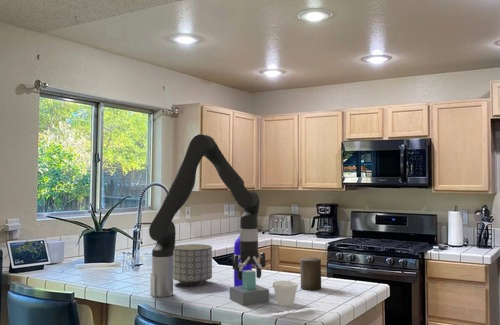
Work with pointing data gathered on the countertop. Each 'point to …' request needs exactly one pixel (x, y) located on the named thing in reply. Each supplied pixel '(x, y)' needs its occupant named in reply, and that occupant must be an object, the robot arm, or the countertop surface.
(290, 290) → the cup
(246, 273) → the plug
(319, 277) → the pillar candle
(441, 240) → the countertop surface
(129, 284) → the countertop surface
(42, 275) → the countertop surface
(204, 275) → the planter
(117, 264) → the countertop surface
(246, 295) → the grey socket block
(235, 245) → the bottle
